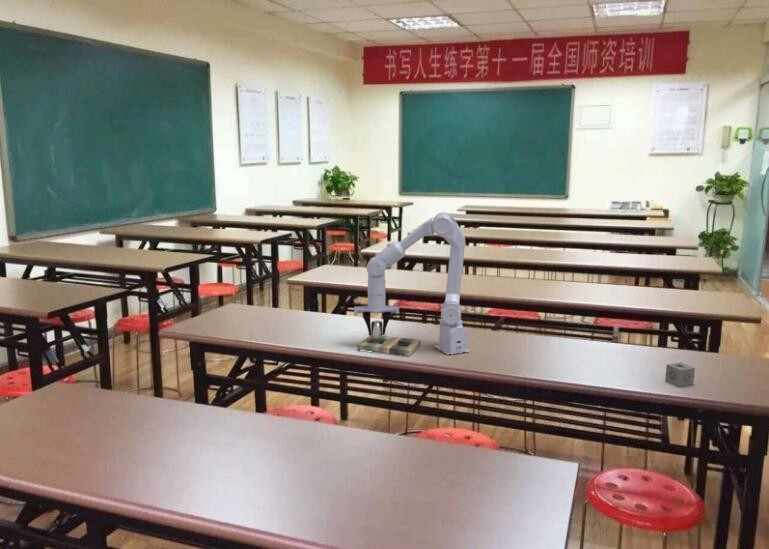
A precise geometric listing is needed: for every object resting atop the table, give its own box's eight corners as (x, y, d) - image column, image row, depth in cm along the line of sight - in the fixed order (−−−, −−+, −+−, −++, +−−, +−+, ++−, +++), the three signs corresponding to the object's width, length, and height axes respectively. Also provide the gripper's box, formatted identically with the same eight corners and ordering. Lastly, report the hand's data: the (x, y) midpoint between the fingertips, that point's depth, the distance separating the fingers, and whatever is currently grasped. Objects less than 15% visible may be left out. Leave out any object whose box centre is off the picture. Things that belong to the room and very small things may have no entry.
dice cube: (678, 379, 176) (680, 362, 175) (693, 385, 172) (694, 368, 171) (665, 381, 175) (666, 364, 174) (679, 387, 170) (680, 370, 169)
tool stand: (420, 345, 207) (420, 339, 206) (409, 356, 196) (409, 350, 195) (371, 340, 213) (371, 334, 212) (357, 350, 202) (357, 344, 201)
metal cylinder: (383, 346, 205) (384, 322, 203) (373, 347, 203) (373, 324, 202) (379, 343, 208) (379, 320, 206) (369, 344, 207) (369, 321, 205)
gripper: (353, 296, 198) (354, 338, 201) (399, 296, 198) (399, 337, 201) (354, 291, 205) (355, 331, 208) (398, 291, 205) (398, 331, 208)
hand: (376, 334), depth 205 cm, fingers open, 4 cm apart
